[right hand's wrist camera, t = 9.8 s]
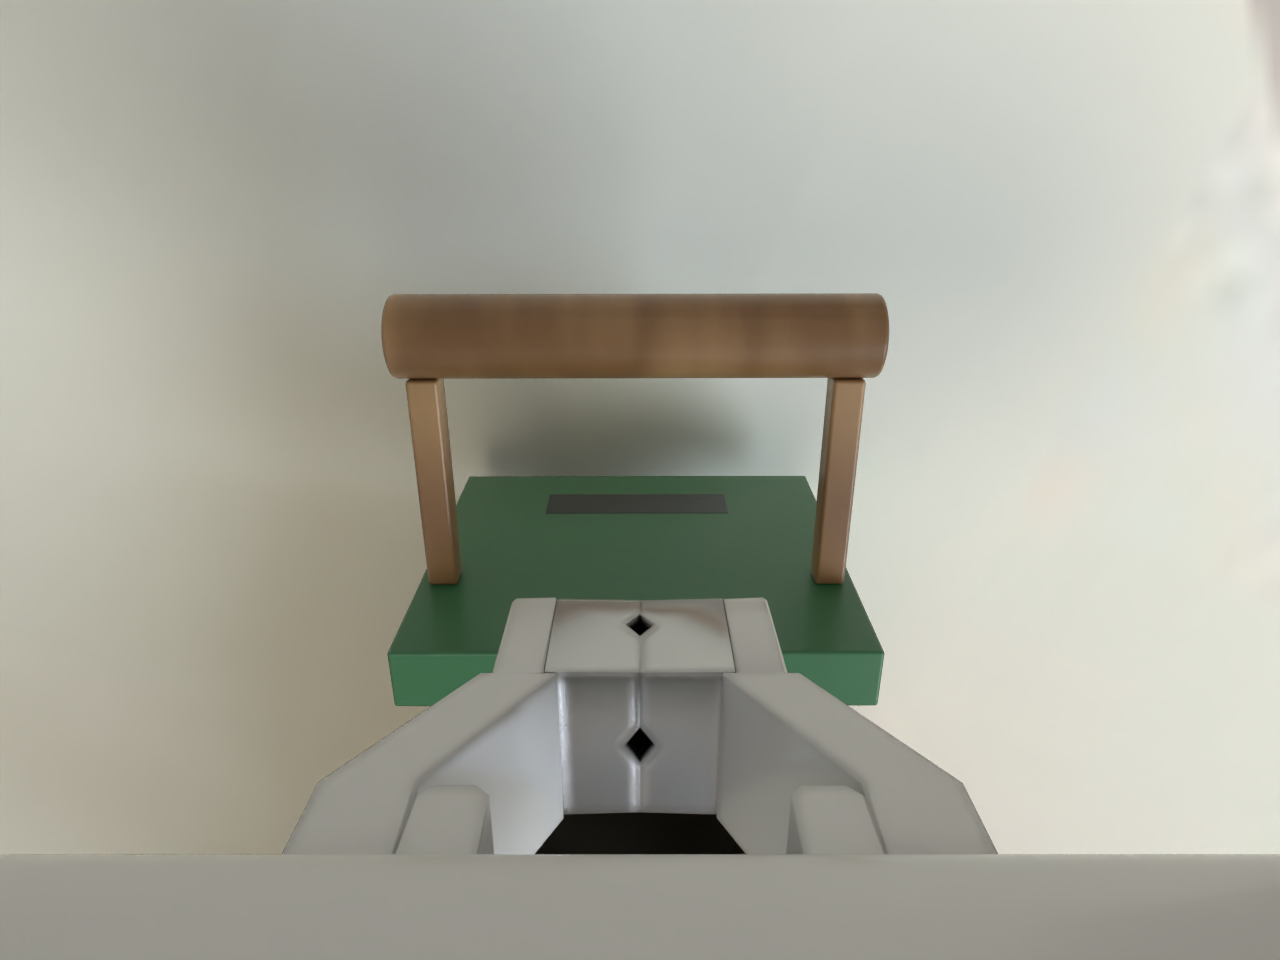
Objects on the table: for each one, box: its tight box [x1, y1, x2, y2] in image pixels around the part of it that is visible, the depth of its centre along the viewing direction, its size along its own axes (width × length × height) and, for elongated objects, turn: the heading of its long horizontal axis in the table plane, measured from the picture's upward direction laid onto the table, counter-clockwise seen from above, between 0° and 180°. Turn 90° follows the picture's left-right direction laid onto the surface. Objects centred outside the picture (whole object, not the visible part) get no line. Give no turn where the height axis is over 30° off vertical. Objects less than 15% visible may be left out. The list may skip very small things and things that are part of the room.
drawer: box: [381, 294, 889, 854], centre depth 21 cm, size 22×9×8 cm, turn 0°
